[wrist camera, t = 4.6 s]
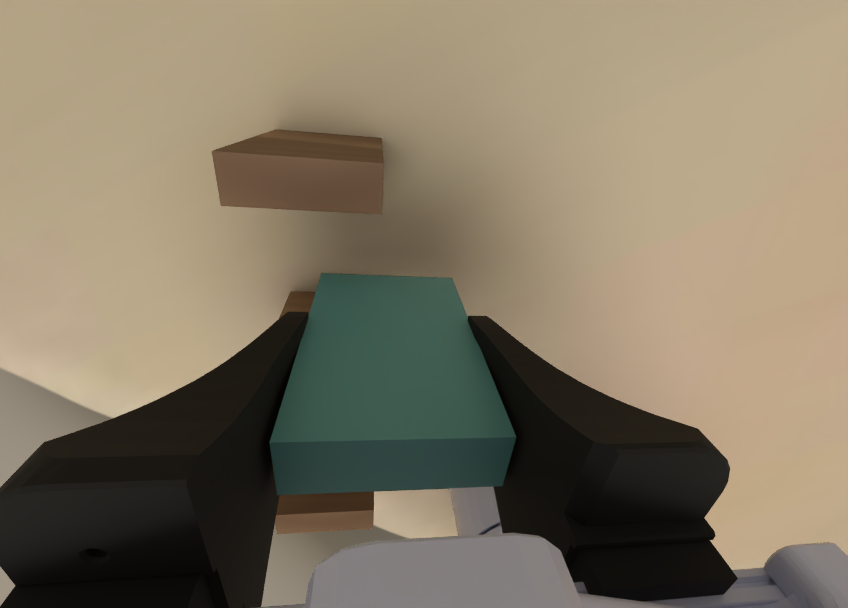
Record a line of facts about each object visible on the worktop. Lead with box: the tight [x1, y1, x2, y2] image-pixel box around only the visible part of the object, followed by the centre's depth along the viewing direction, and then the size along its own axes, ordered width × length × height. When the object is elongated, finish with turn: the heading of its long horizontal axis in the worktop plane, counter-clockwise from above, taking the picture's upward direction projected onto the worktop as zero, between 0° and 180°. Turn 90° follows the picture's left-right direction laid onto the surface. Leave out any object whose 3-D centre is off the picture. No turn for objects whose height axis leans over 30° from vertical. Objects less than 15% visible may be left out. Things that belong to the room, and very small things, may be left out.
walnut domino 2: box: [275, 491, 374, 534], centre depth 23 cm, size 2×5×8 cm, turn 85°
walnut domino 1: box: [212, 130, 384, 214], centre depth 15 cm, size 2×5×8 cm, turn 85°
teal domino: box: [270, 273, 516, 495], centre depth 12 cm, size 2×5×8 cm, turn 85°
